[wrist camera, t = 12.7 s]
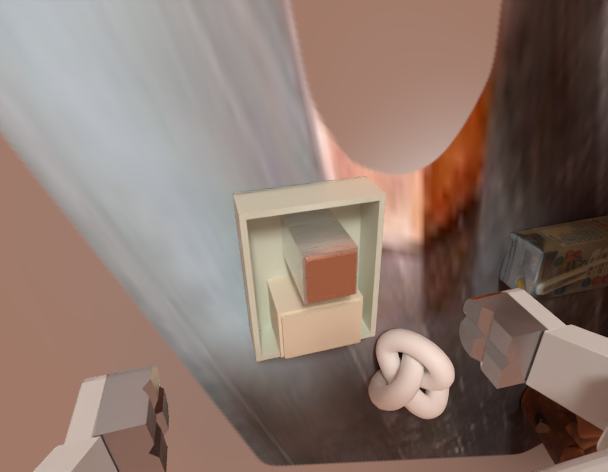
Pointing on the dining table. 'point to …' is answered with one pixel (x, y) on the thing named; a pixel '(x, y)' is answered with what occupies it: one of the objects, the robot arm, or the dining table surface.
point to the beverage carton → (558, 258)
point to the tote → (269, 253)
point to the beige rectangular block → (311, 319)
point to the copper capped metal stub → (319, 255)
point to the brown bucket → (559, 427)
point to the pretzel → (411, 374)
